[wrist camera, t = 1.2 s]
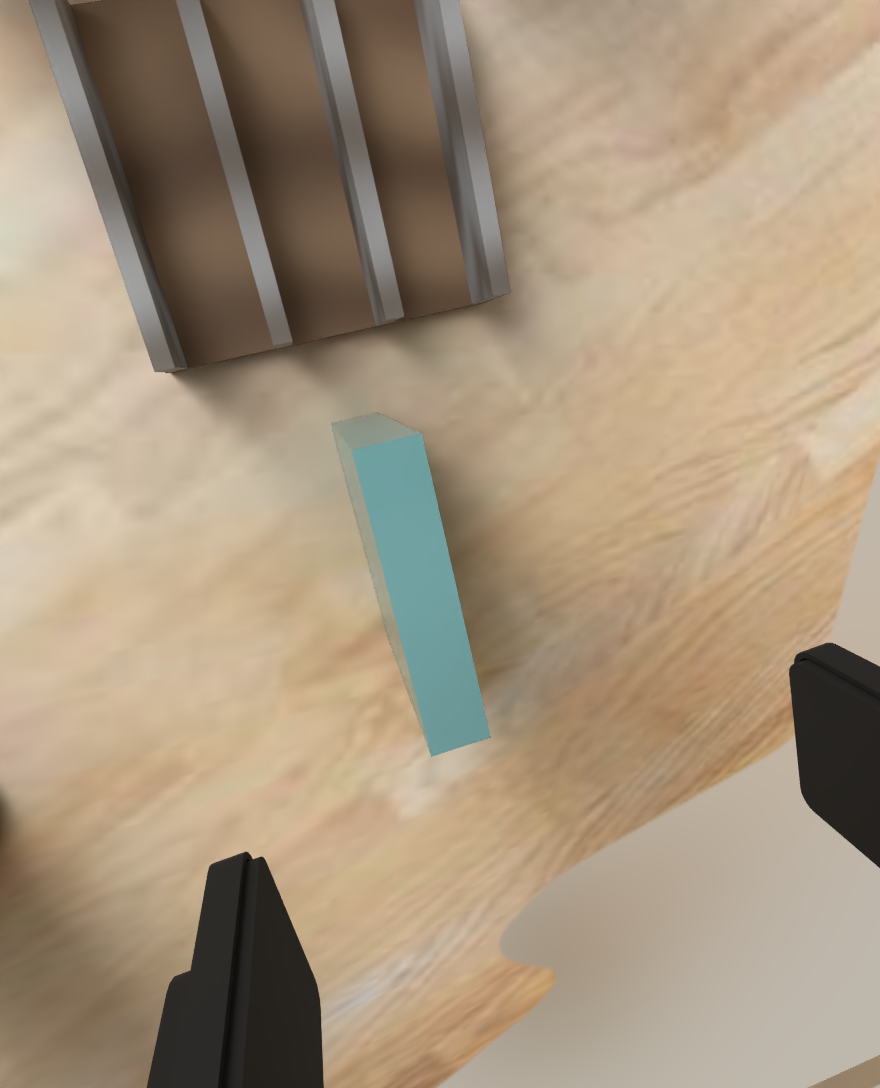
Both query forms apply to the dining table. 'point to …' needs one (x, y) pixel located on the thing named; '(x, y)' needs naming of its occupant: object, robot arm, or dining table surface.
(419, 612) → the teal slab
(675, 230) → the dining table surface
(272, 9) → the rack
